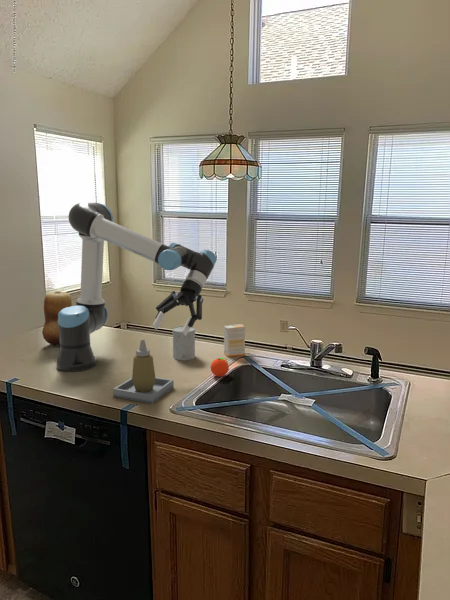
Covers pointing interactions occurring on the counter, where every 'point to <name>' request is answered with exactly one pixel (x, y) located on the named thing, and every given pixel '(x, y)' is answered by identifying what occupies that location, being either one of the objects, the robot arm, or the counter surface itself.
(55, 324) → the butternut squash
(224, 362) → the clementine
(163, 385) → the tray
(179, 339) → the grey cylinder
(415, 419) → the counter surface
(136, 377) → the squeeze bottle
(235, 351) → the supplement box
